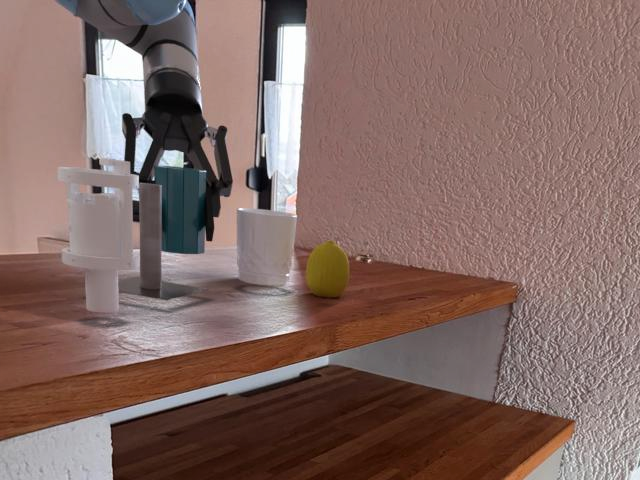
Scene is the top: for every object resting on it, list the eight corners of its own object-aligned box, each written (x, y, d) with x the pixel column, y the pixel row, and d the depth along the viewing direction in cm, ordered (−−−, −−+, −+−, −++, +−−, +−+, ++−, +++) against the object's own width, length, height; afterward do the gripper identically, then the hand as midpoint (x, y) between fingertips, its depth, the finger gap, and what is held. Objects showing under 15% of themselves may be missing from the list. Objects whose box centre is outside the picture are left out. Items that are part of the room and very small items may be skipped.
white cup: (283, 297, 96) (289, 217, 92) (225, 289, 96) (228, 209, 92) (297, 289, 103) (303, 214, 99) (243, 281, 104) (247, 207, 100)
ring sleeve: (145, 248, 94) (144, 164, 90) (170, 245, 99) (171, 165, 95) (189, 255, 92) (190, 170, 88) (212, 251, 98) (214, 171, 94)
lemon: (295, 300, 95) (300, 236, 92) (328, 299, 98) (334, 237, 95) (320, 309, 91) (326, 242, 88) (354, 307, 95) (361, 243, 92)
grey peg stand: (87, 296, 83) (83, 178, 78) (136, 286, 91) (135, 179, 86) (167, 310, 80) (167, 189, 75) (209, 298, 89) (212, 189, 84)
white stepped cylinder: (154, 322, 74) (154, 163, 69) (103, 332, 69) (99, 159, 63) (102, 310, 77) (97, 156, 71) (48, 318, 71) (39, 151, 65)
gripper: (239, 122, 105) (253, 256, 98) (98, 104, 99) (101, 245, 92) (247, 79, 99) (263, 218, 91) (96, 57, 93) (100, 204, 85)
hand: (182, 232), depth 92 cm, fingers closed on ring sleeve, 6 cm apart
